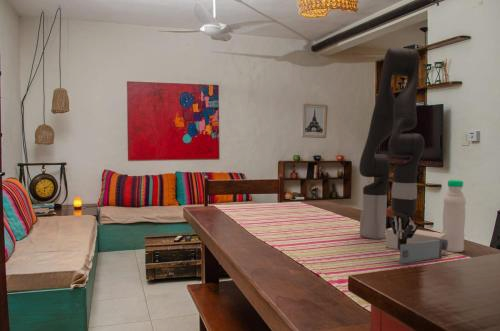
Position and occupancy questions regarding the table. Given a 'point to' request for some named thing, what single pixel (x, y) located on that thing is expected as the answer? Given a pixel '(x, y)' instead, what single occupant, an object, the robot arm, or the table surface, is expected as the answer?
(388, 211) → the battery
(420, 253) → the side door
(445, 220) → the water bottle
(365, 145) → the robot arm
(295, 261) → the table surface
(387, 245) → the housing
